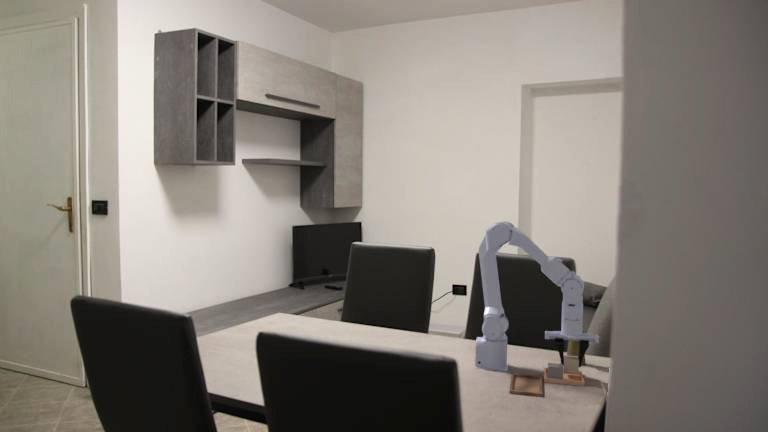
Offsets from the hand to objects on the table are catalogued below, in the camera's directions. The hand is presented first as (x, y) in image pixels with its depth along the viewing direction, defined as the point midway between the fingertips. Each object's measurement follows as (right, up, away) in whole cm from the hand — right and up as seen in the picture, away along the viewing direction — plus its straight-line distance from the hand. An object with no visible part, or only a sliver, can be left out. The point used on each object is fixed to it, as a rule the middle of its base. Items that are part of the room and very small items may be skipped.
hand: (570, 365), depth 159 cm
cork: (+6, -4, +14) cm, 16 cm away
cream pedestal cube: (0, -2, 0) cm, 2 cm away
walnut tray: (-15, -4, -8) cm, 18 cm away
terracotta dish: (-3, -4, -1) cm, 5 cm away
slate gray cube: (-5, -3, -3) cm, 7 cm away
